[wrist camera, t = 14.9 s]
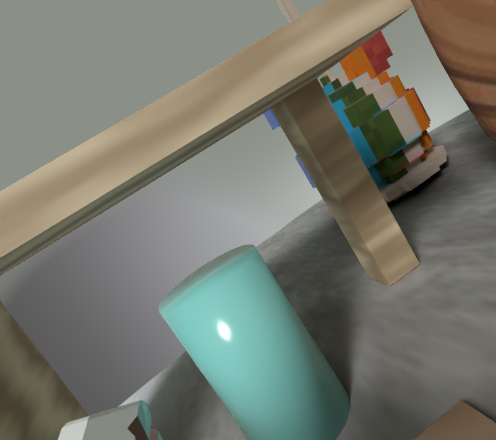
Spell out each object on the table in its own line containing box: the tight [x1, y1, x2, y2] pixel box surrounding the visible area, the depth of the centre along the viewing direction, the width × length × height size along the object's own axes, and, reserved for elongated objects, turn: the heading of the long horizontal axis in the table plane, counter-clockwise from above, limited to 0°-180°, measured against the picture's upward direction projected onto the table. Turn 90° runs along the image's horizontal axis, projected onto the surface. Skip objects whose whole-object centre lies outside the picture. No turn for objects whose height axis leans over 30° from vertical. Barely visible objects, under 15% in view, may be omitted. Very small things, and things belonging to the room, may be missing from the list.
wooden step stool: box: [0, 0, 420, 440], centre depth 24 cm, size 14×28×18 cm, turn 106°
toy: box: [264, 0, 447, 217], centre depth 50 cm, size 18×16×30 cm
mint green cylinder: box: [158, 245, 350, 440], centre depth 22 cm, size 6×6×10 cm
